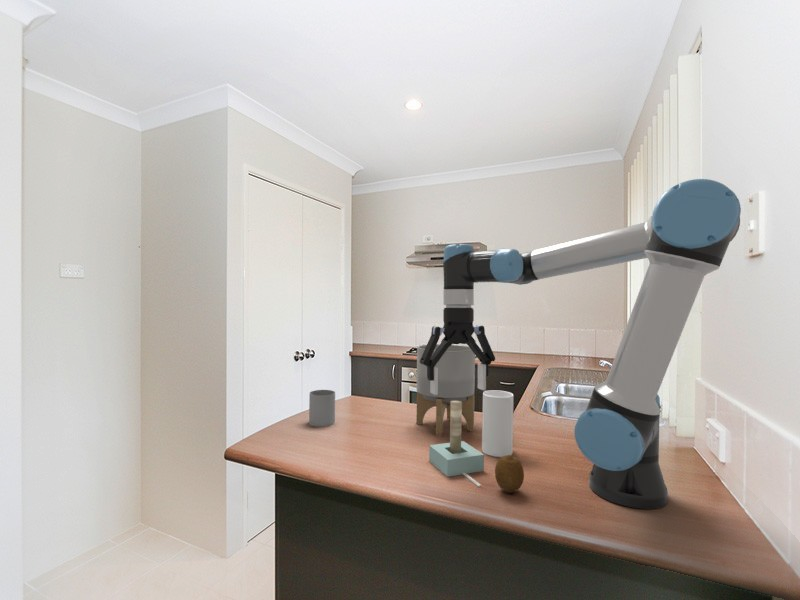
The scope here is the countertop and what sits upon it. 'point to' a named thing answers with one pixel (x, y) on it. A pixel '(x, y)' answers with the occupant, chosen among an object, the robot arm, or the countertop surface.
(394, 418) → the countertop surface
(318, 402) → the cup
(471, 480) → the cream stick
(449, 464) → the bead
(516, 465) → the fruit
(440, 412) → the planter
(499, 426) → the cup
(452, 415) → the beige wooden dowel
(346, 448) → the countertop surface
